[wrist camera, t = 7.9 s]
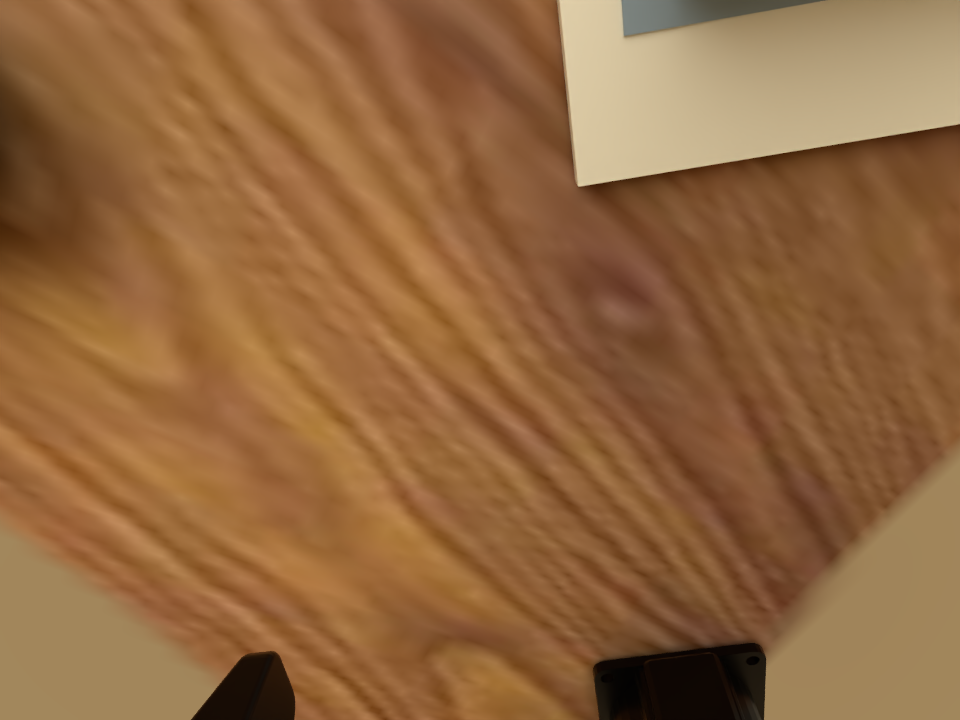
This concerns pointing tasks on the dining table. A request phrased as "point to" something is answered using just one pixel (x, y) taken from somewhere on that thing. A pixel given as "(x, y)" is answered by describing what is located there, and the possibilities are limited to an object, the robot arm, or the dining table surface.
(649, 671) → the robot arm
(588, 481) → the dining table surface
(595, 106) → the white flat square slab
